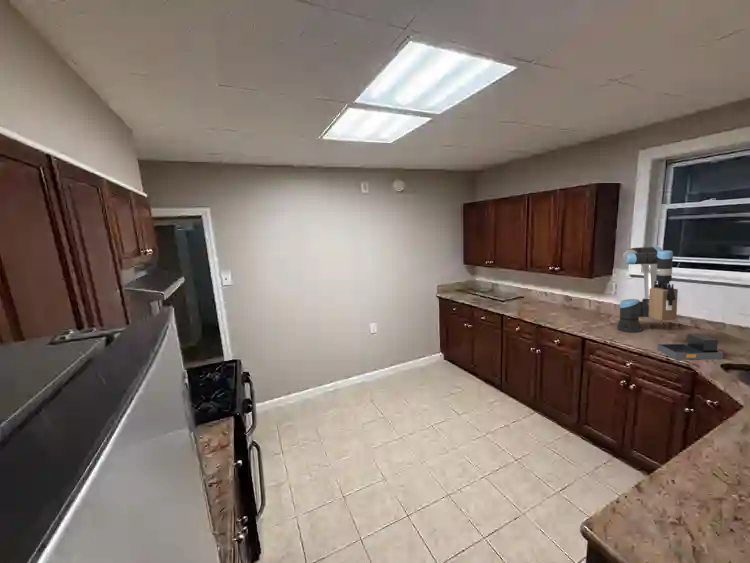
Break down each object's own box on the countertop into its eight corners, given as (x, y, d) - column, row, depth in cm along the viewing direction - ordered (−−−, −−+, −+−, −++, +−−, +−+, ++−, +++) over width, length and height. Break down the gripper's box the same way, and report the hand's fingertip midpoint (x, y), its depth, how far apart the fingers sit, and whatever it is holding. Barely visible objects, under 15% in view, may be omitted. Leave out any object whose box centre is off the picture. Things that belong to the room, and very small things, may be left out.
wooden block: (662, 315, 220) (663, 286, 217) (676, 319, 210) (678, 289, 207) (648, 317, 219) (649, 287, 216) (661, 321, 209) (662, 290, 207)
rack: (657, 350, 210) (658, 333, 209) (700, 349, 206) (701, 332, 205) (676, 360, 194) (677, 342, 193) (723, 359, 190) (724, 341, 189)
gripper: (645, 272, 222) (644, 304, 225) (670, 277, 200) (668, 312, 203) (658, 272, 221) (657, 303, 224) (684, 277, 198) (682, 312, 202)
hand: (662, 308), depth 213 cm, fingers closed on wooden block, 11 cm apart
